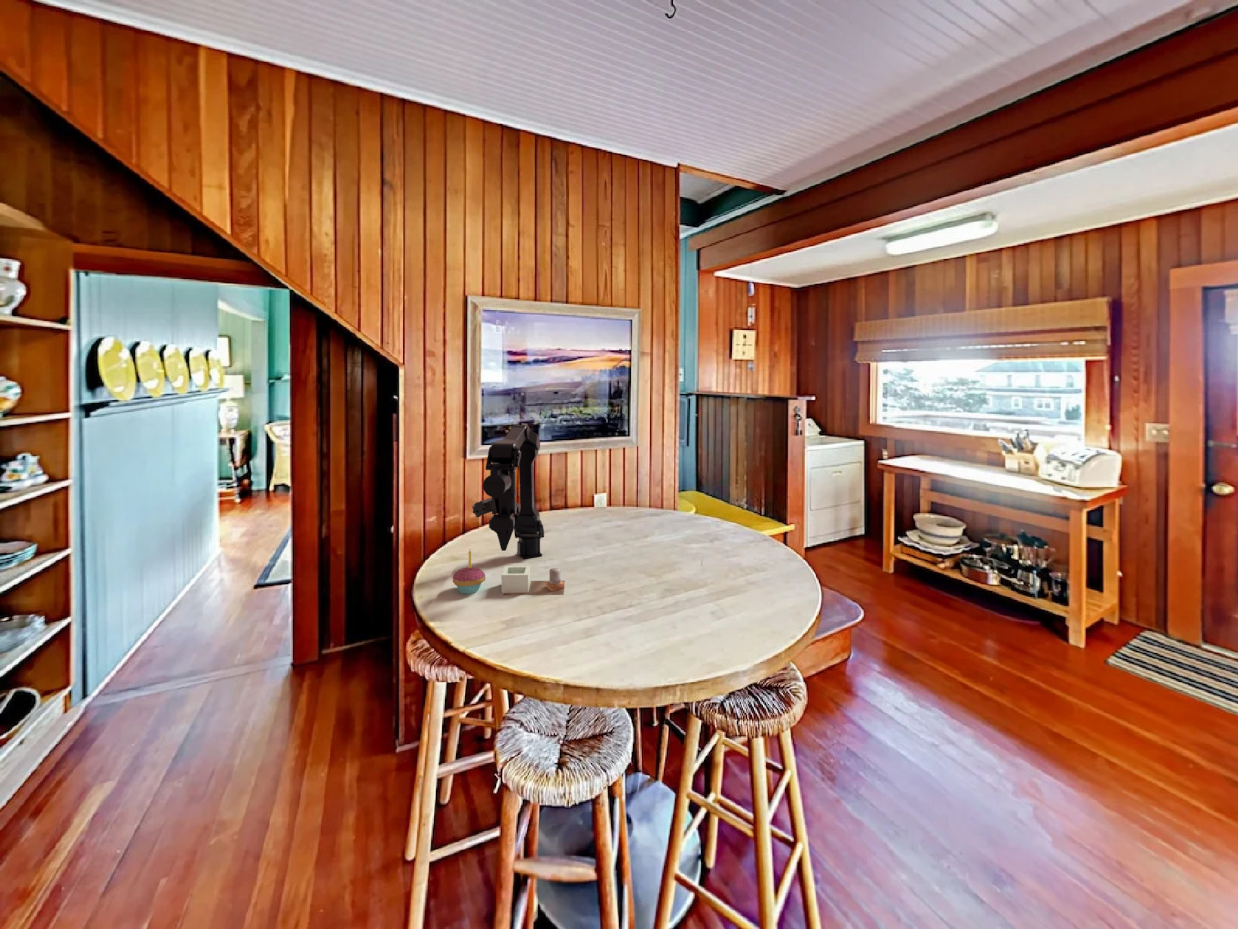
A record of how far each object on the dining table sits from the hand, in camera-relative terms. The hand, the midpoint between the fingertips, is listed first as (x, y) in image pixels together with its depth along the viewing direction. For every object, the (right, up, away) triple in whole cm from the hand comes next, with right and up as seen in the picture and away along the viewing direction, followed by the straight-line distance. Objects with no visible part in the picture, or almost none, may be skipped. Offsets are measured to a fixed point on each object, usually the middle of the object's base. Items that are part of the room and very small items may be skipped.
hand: (505, 545), depth 153 cm
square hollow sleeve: (+3, -12, 0) cm, 12 cm away
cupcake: (-10, -13, -1) cm, 16 cm away
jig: (+8, -13, +1) cm, 15 cm away
